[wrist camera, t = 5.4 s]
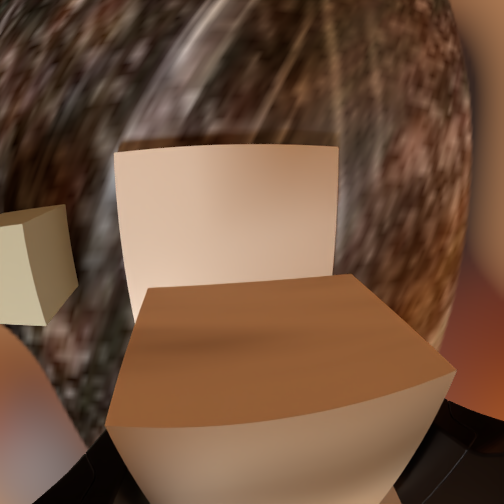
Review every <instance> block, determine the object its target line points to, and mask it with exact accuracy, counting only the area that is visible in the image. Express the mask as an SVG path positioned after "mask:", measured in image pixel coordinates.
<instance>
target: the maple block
mask: <svg viewBox="0 0 504 504" xmlns="http://www.w3.org/2000/svg"><path fill="white" fill-rule="evenodd" d="M456 371H457V370H456V369H455V368H454V367H453V366H452V365H451V364H450V363H449V362H448V361H447V360H446V359H445V358H444V357H443V356H442V355H441V354H439V353H438V352H437V351H436V350H435V349H434V348H433V347H432V346H431V345H430V344H429V343H428V342H427V341H426V340H425V339H423V338H422V337H421V336H420V335H419V334H418V333H417V332H416V331H415V330H414V329H413V328H412V327H410V326H409V325H408V324H407V323H406V322H405V321H404V320H403V319H402V318H401V317H399V316H398V315H397V314H396V313H395V312H394V311H393V310H392V309H391V308H389V307H388V306H387V305H386V304H385V303H384V302H383V301H382V300H380V299H379V298H378V297H377V296H376V295H375V294H374V293H373V292H371V291H370V290H369V289H368V288H367V287H366V286H365V285H363V284H362V283H361V282H360V281H359V280H358V279H356V278H355V277H354V276H353V275H352V274H342V275H331V276H320V277H308V278H296V279H283V280H270V281H256V282H242V283H227V284H211V285H194V286H176V287H155V288H148V289H147V292H146V295H145V297H144V300H143V303H142V306H141V308H140V311H139V314H138V317H137V320H136V323H135V326H134V329H133V332H132V335H131V338H130V341H129V344H128V347H127V350H126V353H125V356H124V359H123V363H122V366H121V369H120V372H119V376H118V379H117V383H116V386H115V389H114V393H113V396H112V400H111V404H110V407H109V411H108V415H107V419H106V423H105V427H106V429H107V431H108V433H109V435H110V437H111V439H112V441H113V443H114V445H115V446H116V448H117V450H118V452H119V454H120V456H121V457H122V459H123V461H124V463H125V464H126V466H127V468H128V469H129V471H130V473H131V474H132V476H133V478H134V479H135V481H136V483H137V484H138V486H139V487H140V489H141V490H142V492H143V493H144V495H145V496H146V498H147V499H148V501H149V502H150V504H379V503H380V502H381V501H382V500H383V498H384V497H385V496H386V494H387V493H388V492H389V490H390V489H391V487H392V486H393V485H394V483H395V482H396V480H397V479H398V478H399V476H400V475H401V473H402V472H403V470H404V469H405V467H406V466H407V464H408V463H409V461H410V459H411V458H412V456H413V455H414V453H415V451H416V450H417V448H418V446H419V445H420V443H421V441H422V440H423V438H424V436H425V434H426V433H427V431H428V429H429V427H430V425H431V424H432V422H433V420H434V418H435V416H436V414H437V412H438V410H439V408H440V406H441V404H442V402H443V400H444V398H445V396H446V394H447V391H448V389H449V387H450V385H451V383H452V380H453V378H454V376H455V374H456Z"/></svg>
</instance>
